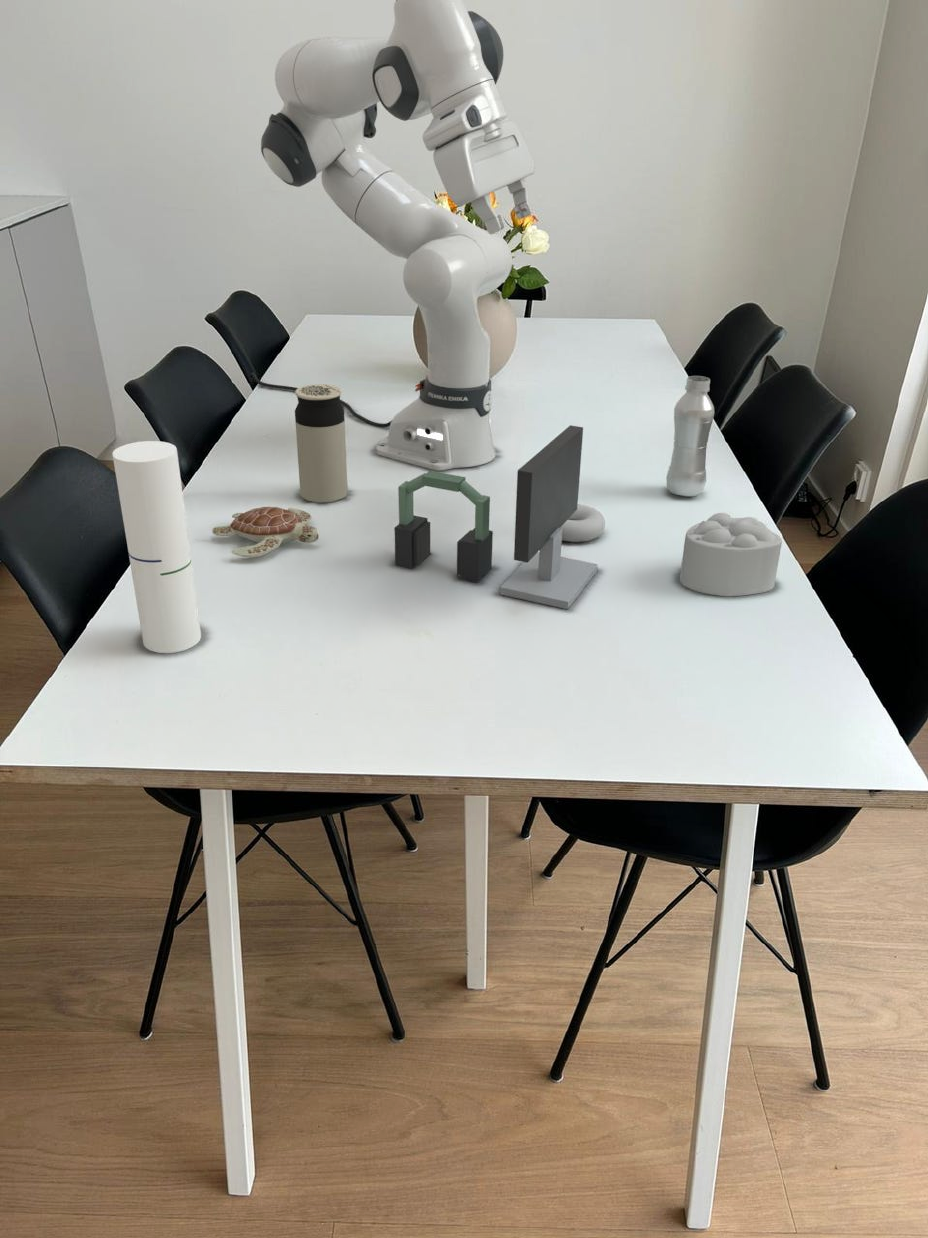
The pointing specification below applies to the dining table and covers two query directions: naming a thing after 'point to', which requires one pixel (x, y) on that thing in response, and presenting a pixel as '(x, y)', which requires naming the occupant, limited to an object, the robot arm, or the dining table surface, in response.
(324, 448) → the travel mug
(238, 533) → the decorative turtle
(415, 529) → the headphones
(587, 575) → the monitor
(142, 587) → the cylindrical container
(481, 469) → the dining table surface
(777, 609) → the dining table surface
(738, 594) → the lumpy-topped squat cylinder
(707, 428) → the plastic bottle
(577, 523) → the donut
